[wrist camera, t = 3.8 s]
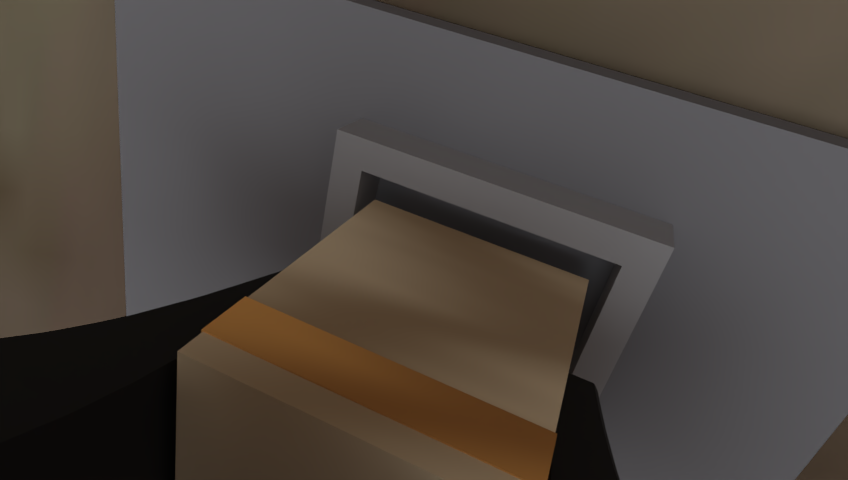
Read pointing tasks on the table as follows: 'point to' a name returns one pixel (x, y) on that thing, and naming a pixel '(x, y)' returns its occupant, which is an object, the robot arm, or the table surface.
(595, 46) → the table surface
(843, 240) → the base board
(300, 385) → the taped cardboard box
